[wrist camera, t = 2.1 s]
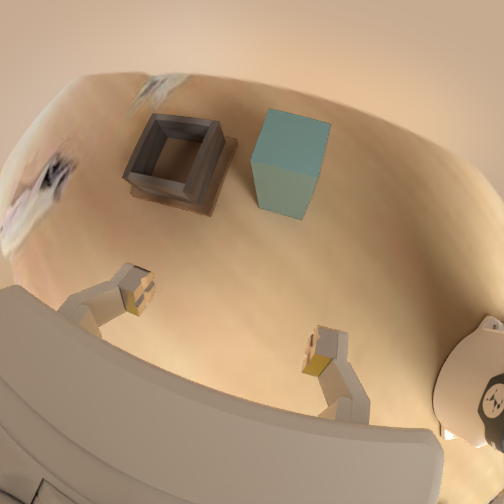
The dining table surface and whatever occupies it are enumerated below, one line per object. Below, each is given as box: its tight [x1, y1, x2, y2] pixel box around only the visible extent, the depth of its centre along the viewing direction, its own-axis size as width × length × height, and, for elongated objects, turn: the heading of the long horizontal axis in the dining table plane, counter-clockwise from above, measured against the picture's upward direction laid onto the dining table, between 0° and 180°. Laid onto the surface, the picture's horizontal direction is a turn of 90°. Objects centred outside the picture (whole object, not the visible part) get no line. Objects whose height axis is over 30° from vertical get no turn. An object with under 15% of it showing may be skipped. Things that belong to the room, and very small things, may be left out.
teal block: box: [250, 109, 331, 220], centre depth 25 cm, size 5×5×12 cm
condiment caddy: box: [122, 114, 238, 217], centre depth 29 cm, size 11×10×6 cm
